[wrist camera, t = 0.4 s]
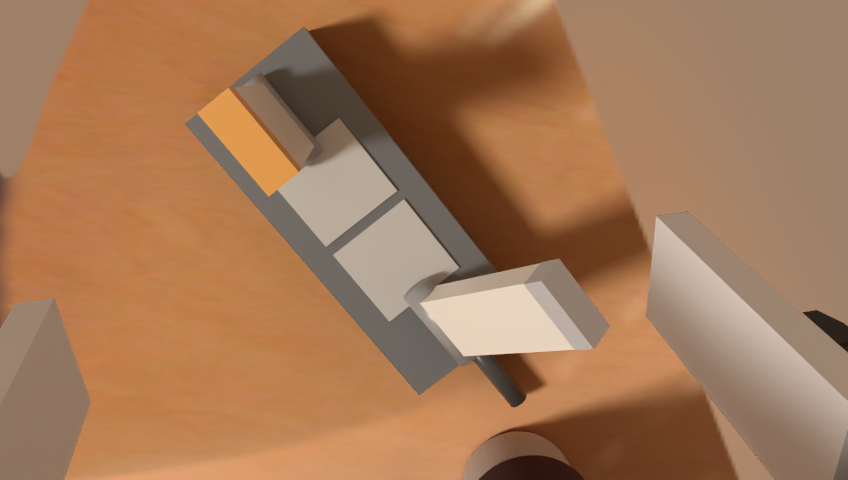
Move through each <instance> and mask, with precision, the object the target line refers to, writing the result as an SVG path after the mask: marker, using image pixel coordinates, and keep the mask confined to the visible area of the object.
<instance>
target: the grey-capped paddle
mask: <svg viewBox="0 0 848 480" xmlns="http://www.w3.org/2000/svg"><path fill="white" fill-rule="evenodd" d="M404 300H405V301H406V302H407V304H408V305H409V306H410V307H411V308H412V310H413V311H414V312H415V313H416V314H417V316H418V317H419V318H420V319H421V320H422V322H423V323H424V324H425V325H426V326H427V328H428V329H429V330H430V331H431V332H432V334H433V335H434V336H435V337H436V338H437V340H438V341H439V342H440V343H441V344H442V345H443V347H444V348H445V349H446V350H447V351H448V353H449V354H450V355H451V356H452V357H453V359H454V360H455V361H456V362H457V363H458V365H460V366H463V365H466V364H468V363H470V362H471V361H473V360H474V359H475V358H476V357H477V356H478V355H495V354H511V353H527V352H543V351H560V350H588V349H594V348H595V347H596V345H597V344H598V342H599V341H600V339H601V338H602V337H603V335H604V334H605V332H606V331H607V329H608V328H609V326H610V325H609V324H608V322H607V321H606V320H605V318H604V317H603V316H602V314H601V313H600V312H599V310H598V309H597V308H596V306H595V305H594V304H593V302H592V301H591V300H590V299H589V297H588V296H587V295H586V293H585V292H584V291H583V289H582V288H581V287H580V285H579V284H578V283H577V281H576V280H575V279H574V277H573V276H572V275H571V273H570V272H569V271H568V269H567V268H566V267H565V266H564V264H563V263H562V262H561V260H560V259H554V260H550V261H545V262H541V263H539V264H534V265H529V266H525V267H520V268H515V269H511V270H506V271H502V272H497V273H492V274H488V275H483V276H478V277H474V278H469V279H465V280H460V281H455V282H451V283H446V284H441V285H437V286H435V285H434V284H433V283H432V281H431V280H430V279H429V278H425V279H422V280H421V281H419V282H418V283H416V284H415V285H414V286H413V287H411V288H410V289H409V290H408V291H407V293H406V294H405V295H404Z"/></svg>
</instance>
